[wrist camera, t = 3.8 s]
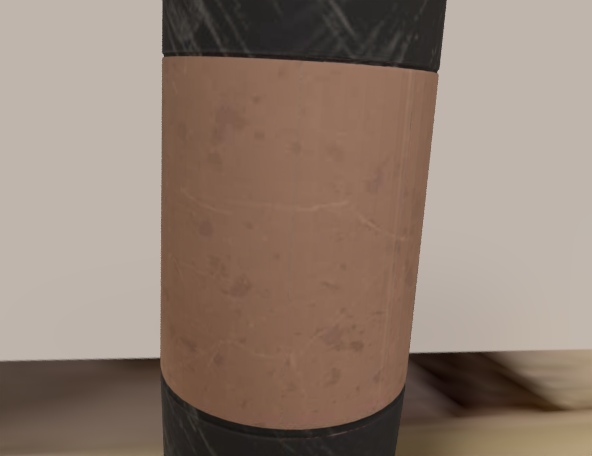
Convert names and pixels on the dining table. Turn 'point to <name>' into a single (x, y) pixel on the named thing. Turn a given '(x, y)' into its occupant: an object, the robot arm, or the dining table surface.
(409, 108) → the travel mug
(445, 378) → the dining table surface
